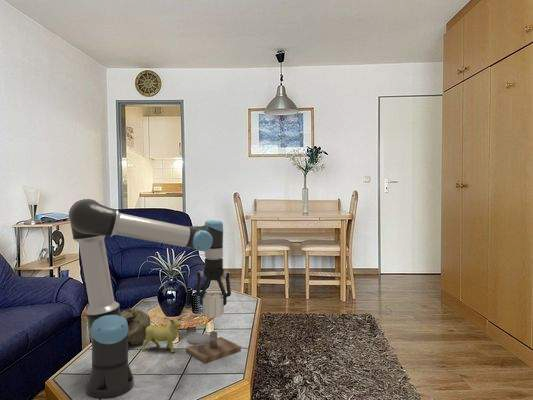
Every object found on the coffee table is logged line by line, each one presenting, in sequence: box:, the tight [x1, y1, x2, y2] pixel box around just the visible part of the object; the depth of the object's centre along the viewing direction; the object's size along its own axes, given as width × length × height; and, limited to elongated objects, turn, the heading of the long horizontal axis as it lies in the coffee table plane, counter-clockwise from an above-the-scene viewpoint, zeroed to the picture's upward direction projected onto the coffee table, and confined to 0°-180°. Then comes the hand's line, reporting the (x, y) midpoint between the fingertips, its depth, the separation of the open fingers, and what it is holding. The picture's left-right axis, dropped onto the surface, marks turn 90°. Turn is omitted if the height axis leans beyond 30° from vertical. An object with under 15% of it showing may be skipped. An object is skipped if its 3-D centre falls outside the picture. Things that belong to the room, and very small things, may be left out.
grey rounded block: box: [204, 290, 223, 319], centre depth 172 cm, size 8×7×9 cm
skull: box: [121, 307, 151, 346], centre depth 181 cm, size 16×22×15 cm
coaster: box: [186, 333, 210, 345], centre depth 186 cm, size 11×11×1 cm
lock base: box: [185, 331, 242, 364], centre depth 173 cm, size 18×14×8 cm
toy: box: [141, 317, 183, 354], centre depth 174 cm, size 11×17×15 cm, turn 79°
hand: (213, 312), depth 172 cm, fingers closed on grey rounded block, 7 cm apart
